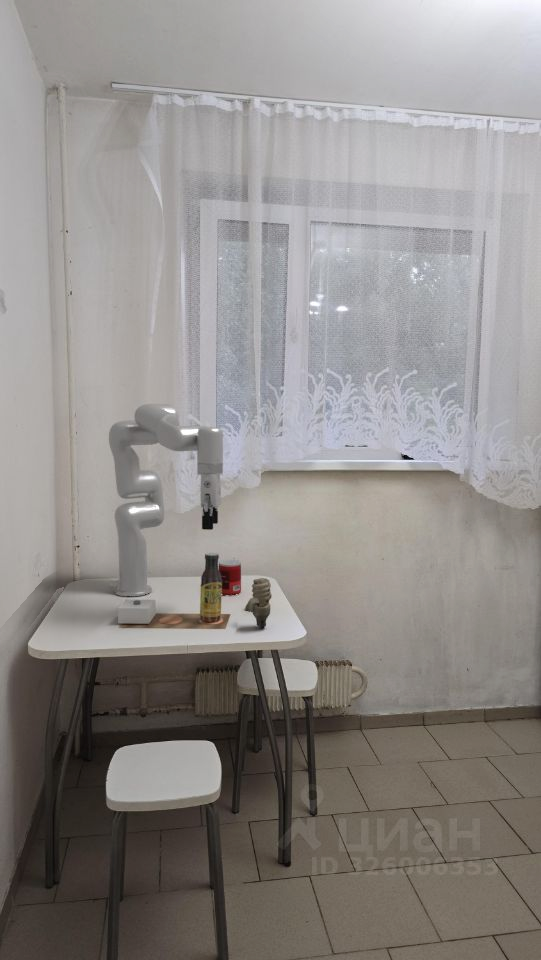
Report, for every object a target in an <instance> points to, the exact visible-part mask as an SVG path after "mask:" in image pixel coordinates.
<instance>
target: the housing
mask: <svg viewBox="0 0 541 960" xmlns="http://www.w3.org/2000/svg"><path fill="white" fill-rule="evenodd" d="M156 613H157V611H156V599H125V600H124V601H123V602H122V603H121V604H120V606H119V607H118V608H117V623H118V624H121V623H133V624H149V623H150V622H151V620H152V619H153V617H154V616H155V614H156Z"/></svg>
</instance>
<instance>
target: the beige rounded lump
mask: <svg viewBox="0 0 541 960" xmlns="http://www.w3.org/2000/svg"><path fill="white" fill-rule="evenodd" d="M272 598H273V597H272V591H270V597H269V599H267V600H266V603H268V604H270V600H271V599H272ZM254 603H259V600H258V598H254V597H253V596H252V597H251V598H249V600H248V601H247V604H246V605H245V607H244V608H245V609H246V611H248V612H250V611H251V613H253V610H252V607H253V604H254ZM245 609H244V610H245Z"/></svg>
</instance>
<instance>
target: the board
mask: <svg viewBox="0 0 541 960" xmlns="http://www.w3.org/2000/svg"><path fill="white" fill-rule="evenodd" d="M200 616H201V615H200V613H170V612H169V613H167V612H166V613H165V612H164V613H161V612H160V613H158V612H156V614H155V616H154V617H153V619H152V620H151V622H150V623H149V624H133V623H120V625H119V626H118V627H117V628H118V629H171V630H172V629H173V630H174V629H176V630H177V629H179V630H183V629H184V630H185V629H187V630H191V629H192V630H193V629H194V630H199V629H200V630H226V629H227V626H228V624H229V620H230V617H231V613H221V615H220V620H219V621H215V622H204V621H202V620H201V618H200Z"/></svg>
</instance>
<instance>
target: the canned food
mask: <svg viewBox="0 0 541 960" xmlns="http://www.w3.org/2000/svg"><path fill="white" fill-rule="evenodd" d="M218 570H219V572H220V574H221V581H222V592H221V594H223V595H222V596H224V595H234V596H237V595H236V594H238V595H240V594H241V592H242V563H241V561H240V560H238V559H237V560H236V559H225V560H221V561H218ZM239 593H240V594H239Z"/></svg>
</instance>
